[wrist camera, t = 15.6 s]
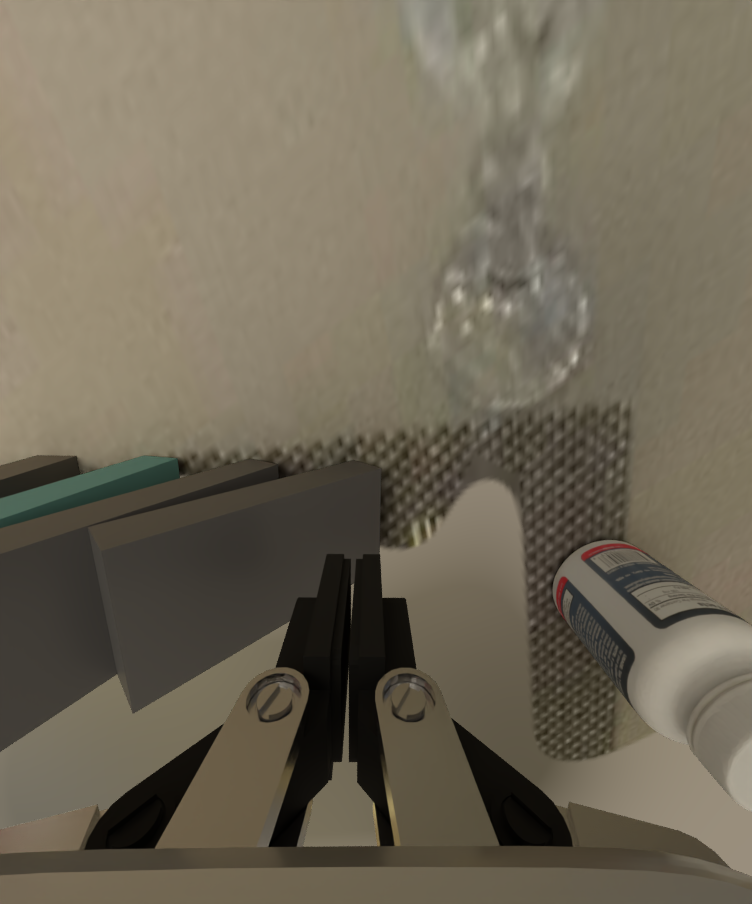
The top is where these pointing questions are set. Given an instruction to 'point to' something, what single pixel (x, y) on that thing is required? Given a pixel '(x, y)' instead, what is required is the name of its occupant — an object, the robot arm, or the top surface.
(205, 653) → the domino
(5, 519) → the domino
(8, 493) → the domino
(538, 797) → the robot arm
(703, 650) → the pill bottle
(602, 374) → the top surface
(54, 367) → the top surface
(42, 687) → the domino
